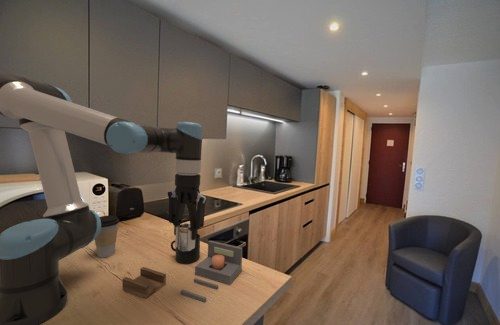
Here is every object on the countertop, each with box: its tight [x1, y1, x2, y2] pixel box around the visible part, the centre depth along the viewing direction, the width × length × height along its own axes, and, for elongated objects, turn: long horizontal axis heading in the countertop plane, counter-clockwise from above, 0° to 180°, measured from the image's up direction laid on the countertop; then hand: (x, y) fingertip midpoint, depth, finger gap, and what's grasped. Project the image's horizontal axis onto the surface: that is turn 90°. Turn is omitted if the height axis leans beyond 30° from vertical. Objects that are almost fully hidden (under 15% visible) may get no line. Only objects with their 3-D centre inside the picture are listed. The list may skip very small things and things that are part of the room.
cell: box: [178, 222, 191, 251], centre depth 72 cm, size 4×4×8 cm
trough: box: [121, 266, 167, 299], centre depth 74 cm, size 8×10×3 cm
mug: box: [170, 233, 201, 264], centre depth 94 cm, size 9×12×9 cm
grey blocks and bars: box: [179, 240, 243, 303], centre depth 79 cm, size 20×14×9 cm
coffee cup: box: [94, 214, 120, 258], centre depth 94 cm, size 9×9×15 cm
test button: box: [212, 255, 224, 271], centre depth 83 cm, size 4×4×4 cm
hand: (185, 247), depth 73 cm, fingers closed on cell, 4 cm apart
